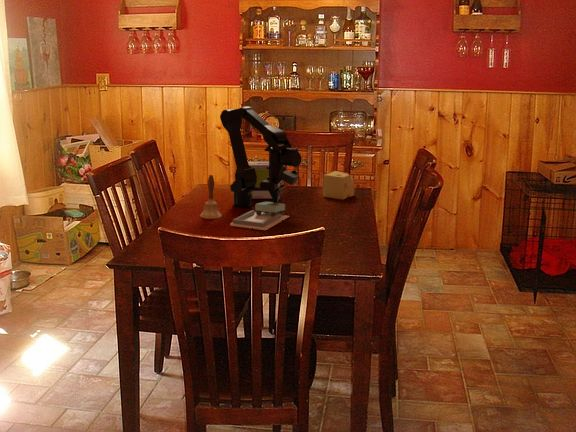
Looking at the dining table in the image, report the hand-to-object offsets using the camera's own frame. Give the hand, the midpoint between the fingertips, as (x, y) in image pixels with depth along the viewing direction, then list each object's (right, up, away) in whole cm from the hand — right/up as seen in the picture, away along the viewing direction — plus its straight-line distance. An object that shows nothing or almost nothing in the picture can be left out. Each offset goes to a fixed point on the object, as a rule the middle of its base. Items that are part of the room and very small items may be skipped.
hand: (275, 203), depth 271 cm
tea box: (-6, +3, +29) cm, 30 cm away
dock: (-5, -7, -11) cm, 14 cm away
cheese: (+27, +3, +33) cm, 42 cm away
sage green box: (-2, -5, -4) cm, 7 cm away
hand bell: (-25, -5, -6) cm, 26 cm away
